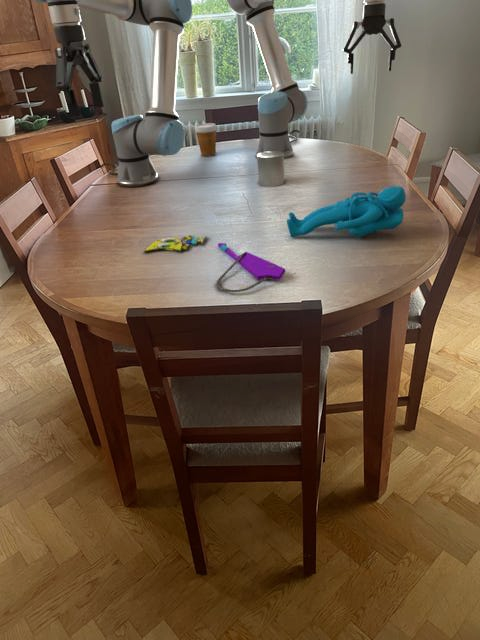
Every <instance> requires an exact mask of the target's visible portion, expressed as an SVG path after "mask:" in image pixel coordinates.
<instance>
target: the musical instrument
mask: <svg viewBox="0 0 480 640" xmlns="http://www.w3.org/2000/svg"><path fill="white" fill-rule="evenodd" d="M217 246H218V247H219V248H220V249H221V251H223V252H224V253H225V254H227V255H228V256H229V257H231V259H233V260H234V262H233V263H232V264H231V265H230V266H229V267H228V268H227V269H226V270H225V271H224V272H223V274H222V275H220V277H219V278H218V280H217V281H216V288H217V289H218V290H220V291H223V292H228V293H240V292H245V291H248V290H251V289H252V288H254V287H256V286H258V285H260V284H262V283H263V282H264V281H265V280H268V279H269V280H275V281H276V280H277V281H280V280H281V279H282V277H283V276H284V275H285V273H286V269H285V268H284V267H282V266H280V265H278V264H275V263H273V262H271V261H269V260H266V259H264V258H262V257H260V256H257V255H256V254H253V253H251V252H248V251H244V252H242V253H241V254H239V255H237V254H236V253H235V252H234V251H232V250H231V249H230V248H229V247H228V246H227V243H225V242H218V243H217ZM236 264H239V265H240V266H241V267H242V268H243V269H245V270H246V271H247V272H248V273H249V274H251V275H252V276H253V277H254V278H255V279H257V280H258V281H257V282H255V283H253V284H251V285H250V286H247V287H245V288H241V289H229V288H225V287H224V288H223V287H222V286H221V281H222V280H223V278H224V277H225V276H226V275H227V274H228V273H229V272H230V271H231V270H232V269H233V267H235V266H236Z"/></svg>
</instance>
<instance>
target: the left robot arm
mask: <svg viewBox="0 0 480 640" xmlns="http://www.w3.org/2000/svg"><path fill="white" fill-rule="evenodd" d="M34 1H36V2H37V3H39V4H47V6H48V13H49V16H50V17H49V18H50V22H51V24H52V25H54V27H53V32H54V37H55V40H56V41H55V42H56V43H58V44H61V47H55V48H54V54H55V67H56V68H55V85H56V89H57V90H58V91H59V92H61V91H62V92H63V95H64V99H65V103H66V106H67V111H68V114H69V117H80V110H79V106H78V102H77V98H76V97H77V96H76V94H75V89H72V87H73V80H74V74H75V69H76V68H77V66H78V67H80V68H81V70H82V71H83V73H84V74H85V76H86V77H87V79H88V80H89V82H90V83H88V84H89V90H90V93H91V99H92V103H93V107H94V108H104V107H105V106H104V102H103V96H102V92H101V88H100V83H102V82H103V75H102V73H101V71H100V69H99V67H98V66H99V65H98V64H97V61H96V60H95V57H94V55H93V53H92V49H91V46H90V44H89V43H83V42H85V41H86V35H85V31H84V26H83V25H82V24H80V23H81V22H82V18H81V14H80V12H81V11H80V9H85V10H89V11H93V12H98V13H104V14H107V15H112V16H114V18H116V19H117V20H120V21H122V22H123V21H124V22H128V23H131V24H136V25H140V26H147V27H148V26H149V29H150V30H151V31H152V33H153V37H152V55H151V56H152V59H151V77H150V78H151V80H150V100H149V103H150V104H149V108H148V109H147V110H146V111H145V115H144V117H143V114H133V115H129V116H125V117H121V118H118V119H115V120H113V121H112V122H111V132H112V133H111V135H112V140H113V142H114V147H115V151H116V156H117V160H118V165H117V164H114V163H110V162H103V163H102V164H101V165H100V168H103V167H104V166H111V167H114V168H111V169H110V170H109V171H108V174H109V175H112V176H117V179H116V180H117V183H118V186H120V187H123V188H124V187H125V188H136V187H137V188H138V187H145V186H147V185H148V186H149V185H151V184H154V183H156V182H157V181H158V180H159V176H158V172H157V169H156V168H155V166H154V163H153V161H152V159H151V156H150V155H154V156H162V157H166V156H174V155H177V154H178V153H179V152H180V151H181V149H182V148H183V146H184V142H185V137H186V136H185V135H186V134H185V129H184V126H183V123H182V122H181V121H180V120H179V119H180V117H179V115H178V113H177V112H176V98H177V97H176V96H177V95H176V94H177V81H178V80H177V79H178V78H177V77H178V62H179V61H178V60H179V45H180V44H179V43H180V36H182V35H183V34H184V32H185V24H188V23H189V22H191V20H192V17H193V4H192V0H34ZM117 169H118V170H117ZM115 170H117V172H114V171H115Z"/></svg>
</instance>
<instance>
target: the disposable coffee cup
mask: <svg viewBox="0 0 480 640" xmlns="http://www.w3.org/2000/svg"><path fill="white" fill-rule="evenodd" d="M217 128H218V127H217V125H216V123H214V122H207V123H206V122H205V123H199V124H196V125H195V126H194V131H195V133H196V138H197V142H198V146H199V150H200V154H201V157H210V156H211V157H212V156H215V155H216V153H217V150H216V149H217Z"/></svg>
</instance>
